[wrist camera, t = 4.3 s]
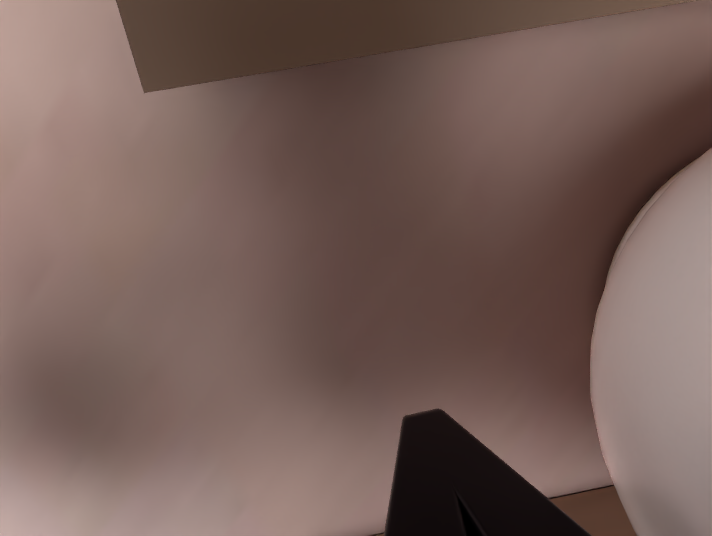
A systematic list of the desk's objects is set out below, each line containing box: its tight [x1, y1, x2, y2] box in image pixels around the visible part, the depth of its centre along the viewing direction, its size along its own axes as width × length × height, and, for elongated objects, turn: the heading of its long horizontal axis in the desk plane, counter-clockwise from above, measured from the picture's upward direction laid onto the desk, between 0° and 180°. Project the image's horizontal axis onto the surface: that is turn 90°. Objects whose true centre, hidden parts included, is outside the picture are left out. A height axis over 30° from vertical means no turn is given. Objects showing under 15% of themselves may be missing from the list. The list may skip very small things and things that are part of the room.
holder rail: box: [116, 0, 697, 536], centre depth 11 cm, size 15×12×3 cm
